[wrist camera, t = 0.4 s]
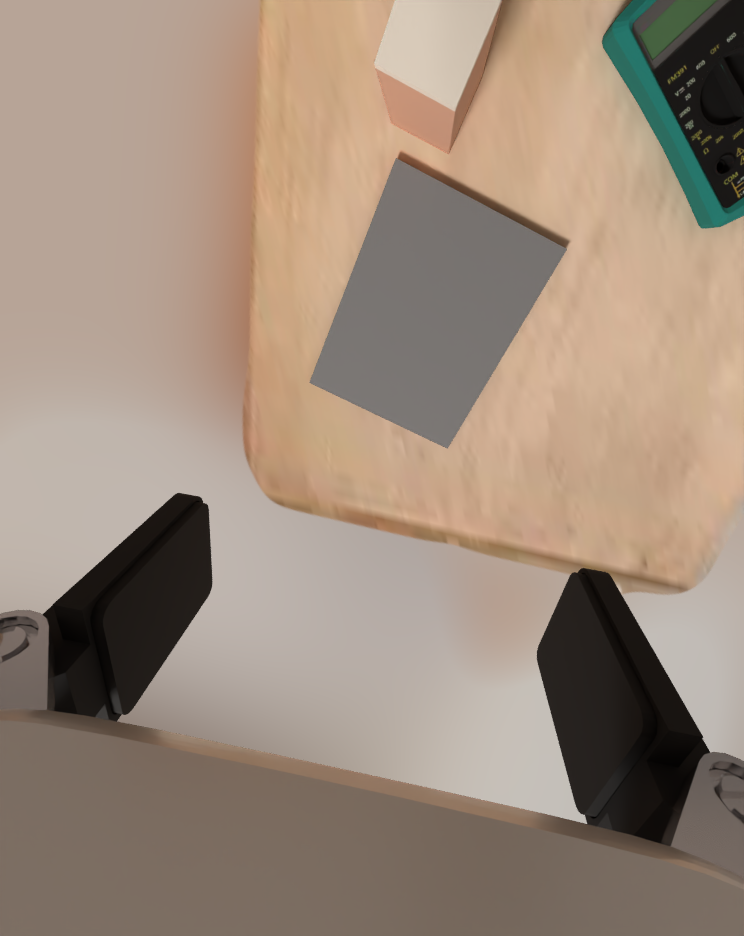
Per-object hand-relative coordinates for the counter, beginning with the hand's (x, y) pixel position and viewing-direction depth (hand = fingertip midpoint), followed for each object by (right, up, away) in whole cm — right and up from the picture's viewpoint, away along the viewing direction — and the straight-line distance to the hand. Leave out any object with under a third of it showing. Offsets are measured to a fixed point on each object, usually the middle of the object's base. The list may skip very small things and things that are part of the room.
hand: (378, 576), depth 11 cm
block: (+4, +28, +18) cm, 33 cm away
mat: (+4, +15, +24) cm, 29 cm away
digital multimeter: (+21, +27, +16) cm, 38 cm away
